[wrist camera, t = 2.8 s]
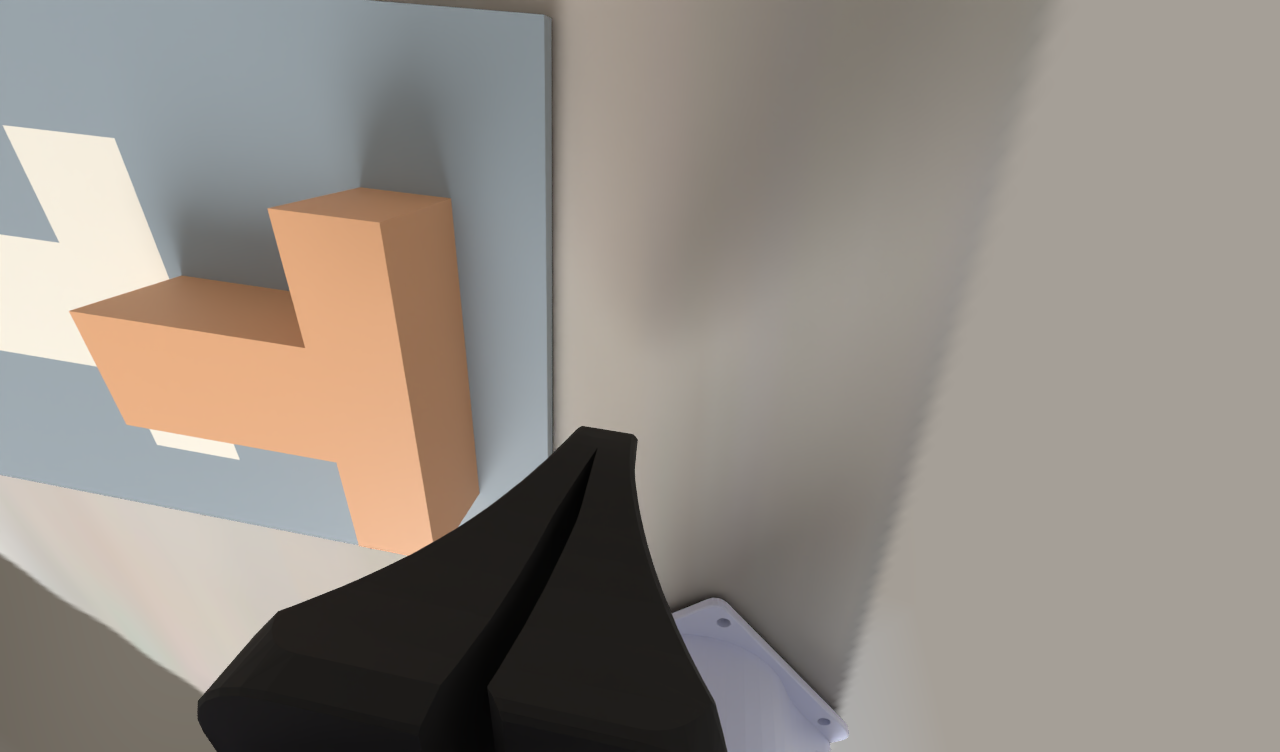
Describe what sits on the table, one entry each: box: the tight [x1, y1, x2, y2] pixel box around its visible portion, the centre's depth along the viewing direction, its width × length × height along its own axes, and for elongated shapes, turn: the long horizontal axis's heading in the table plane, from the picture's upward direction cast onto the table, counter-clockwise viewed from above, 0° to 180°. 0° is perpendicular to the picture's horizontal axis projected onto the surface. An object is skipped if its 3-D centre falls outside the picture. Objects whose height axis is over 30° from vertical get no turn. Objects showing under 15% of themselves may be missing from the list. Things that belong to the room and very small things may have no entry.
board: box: [0, 0, 552, 545], centre depth 16 cm, size 26×18×1 cm
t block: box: [69, 187, 480, 556], centre depth 14 cm, size 9×10×3 cm
